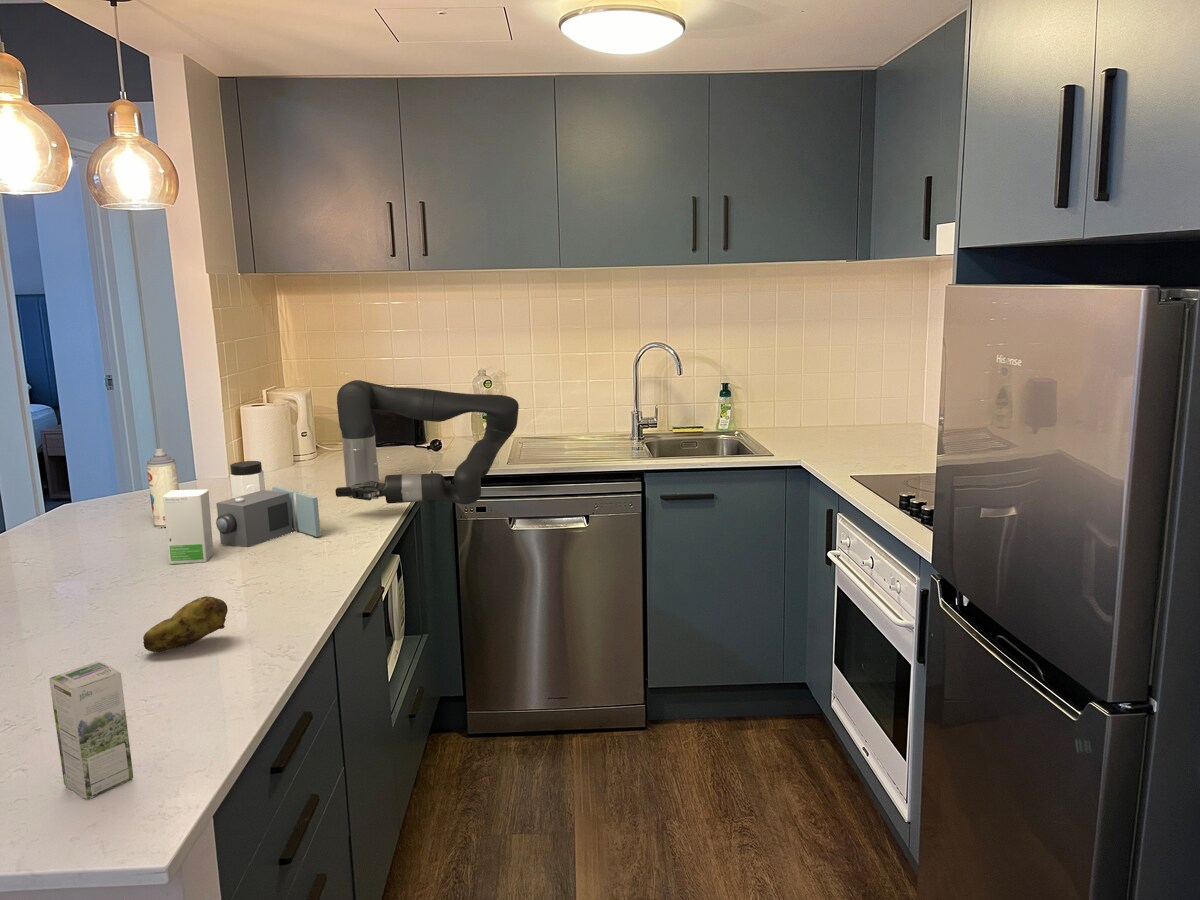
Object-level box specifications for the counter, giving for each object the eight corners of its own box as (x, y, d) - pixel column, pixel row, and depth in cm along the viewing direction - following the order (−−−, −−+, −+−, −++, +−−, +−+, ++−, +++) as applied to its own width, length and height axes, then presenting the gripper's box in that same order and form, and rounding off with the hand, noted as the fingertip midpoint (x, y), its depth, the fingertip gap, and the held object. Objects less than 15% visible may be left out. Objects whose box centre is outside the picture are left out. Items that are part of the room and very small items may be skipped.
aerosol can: (155, 522, 231) (146, 448, 227) (184, 520, 233) (175, 446, 229) (152, 529, 224) (142, 452, 221) (181, 526, 226) (172, 450, 223)
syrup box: (111, 765, 111) (96, 658, 108) (135, 779, 108) (120, 669, 105) (63, 787, 107) (46, 675, 104) (87, 802, 103) (70, 687, 101)
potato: (153, 641, 151) (148, 597, 150) (233, 632, 154) (228, 588, 153) (141, 660, 143) (135, 614, 142) (226, 650, 146) (220, 605, 145)
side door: (275, 524, 225) (272, 487, 223) (280, 523, 226) (277, 486, 224) (316, 537, 211) (312, 498, 210) (321, 536, 212) (317, 497, 211)
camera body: (266, 528, 222) (262, 487, 220) (293, 532, 218) (289, 489, 216) (212, 546, 208) (207, 502, 206) (239, 550, 203) (234, 505, 201)
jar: (236, 510, 241) (231, 467, 239) (230, 504, 248) (225, 463, 246) (270, 505, 246) (265, 463, 244) (263, 500, 253) (259, 459, 251)
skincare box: (168, 565, 194) (159, 496, 191) (177, 556, 200) (169, 490, 197) (208, 562, 195) (200, 494, 192) (216, 553, 202) (208, 487, 199)
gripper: (404, 469, 235) (337, 473, 233) (402, 479, 223) (331, 483, 220) (406, 496, 237) (340, 500, 234) (403, 508, 224) (333, 512, 221)
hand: (336, 492), depth 227 cm, fingers closed
